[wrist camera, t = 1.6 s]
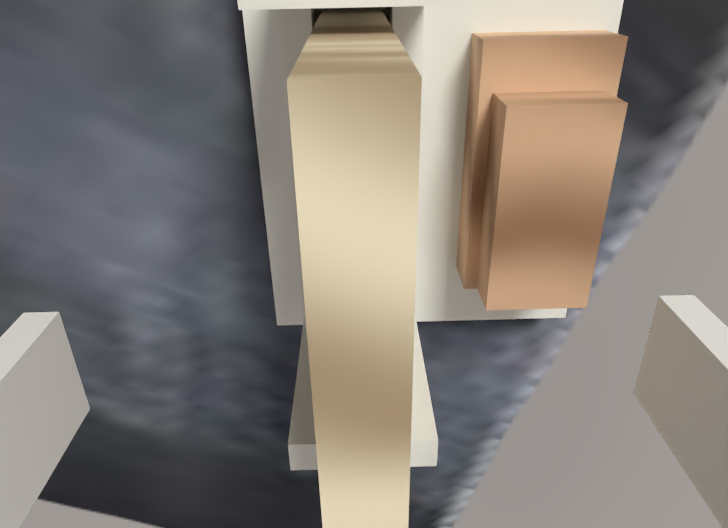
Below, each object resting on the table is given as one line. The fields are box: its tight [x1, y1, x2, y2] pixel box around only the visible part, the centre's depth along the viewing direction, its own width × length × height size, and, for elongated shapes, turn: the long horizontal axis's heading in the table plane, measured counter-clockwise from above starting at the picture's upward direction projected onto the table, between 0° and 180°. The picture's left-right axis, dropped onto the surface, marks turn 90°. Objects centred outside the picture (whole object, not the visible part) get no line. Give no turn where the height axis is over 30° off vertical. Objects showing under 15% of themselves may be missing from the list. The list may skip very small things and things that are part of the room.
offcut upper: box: [476, 90, 628, 310], centre depth 21 cm, size 8×4×2 cm, turn 1°
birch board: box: [287, 7, 422, 528], centre depth 17 cm, size 12×2×14 cm, turn 1°
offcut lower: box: [456, 30, 628, 289], centre depth 23 cm, size 10×5×2 cm, turn 1°
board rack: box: [237, 0, 624, 470], centre depth 20 cm, size 16×14×11 cm
